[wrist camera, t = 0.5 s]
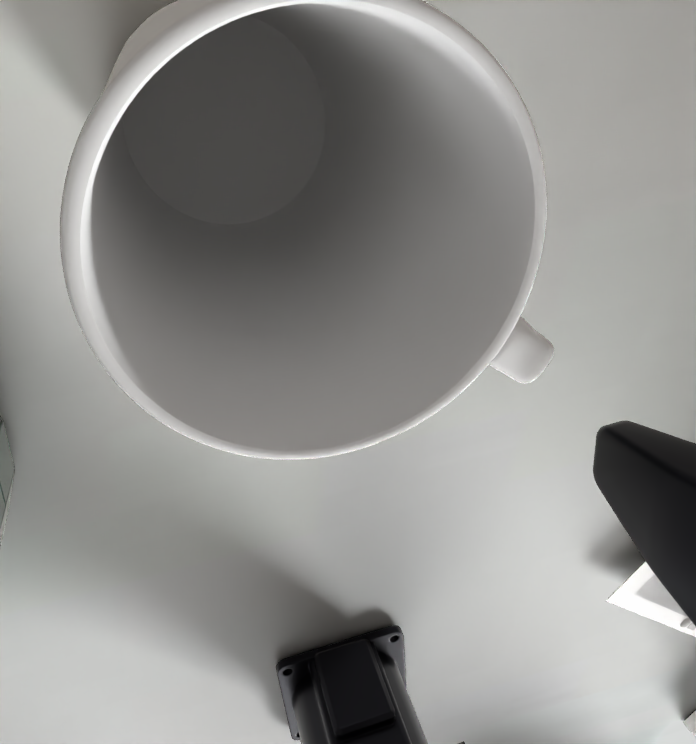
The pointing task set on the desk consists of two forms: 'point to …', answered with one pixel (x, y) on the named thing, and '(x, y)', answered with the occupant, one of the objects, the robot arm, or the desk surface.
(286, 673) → the robot arm
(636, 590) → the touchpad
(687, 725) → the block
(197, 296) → the mug
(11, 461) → the green shallow bowl
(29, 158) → the desk surface
